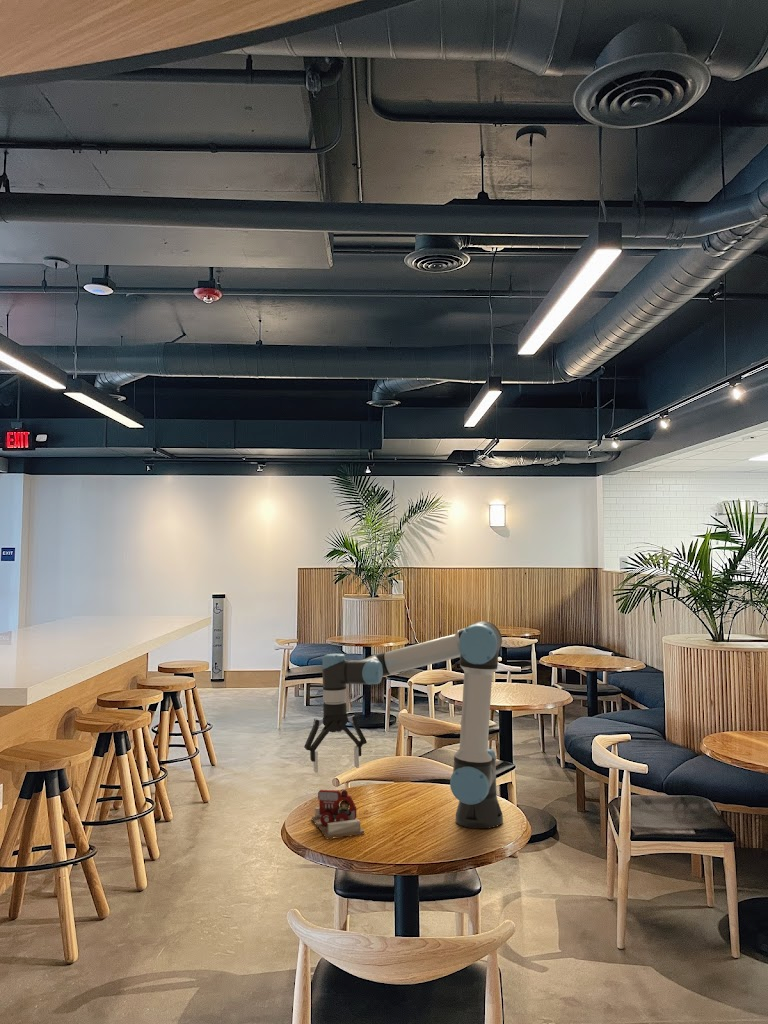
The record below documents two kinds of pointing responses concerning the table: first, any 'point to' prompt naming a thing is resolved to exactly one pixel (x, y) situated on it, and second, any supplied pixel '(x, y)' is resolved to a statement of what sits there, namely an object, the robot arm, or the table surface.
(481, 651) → the robot arm
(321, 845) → the table surface
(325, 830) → the gray jig
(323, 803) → the toy fire truck
